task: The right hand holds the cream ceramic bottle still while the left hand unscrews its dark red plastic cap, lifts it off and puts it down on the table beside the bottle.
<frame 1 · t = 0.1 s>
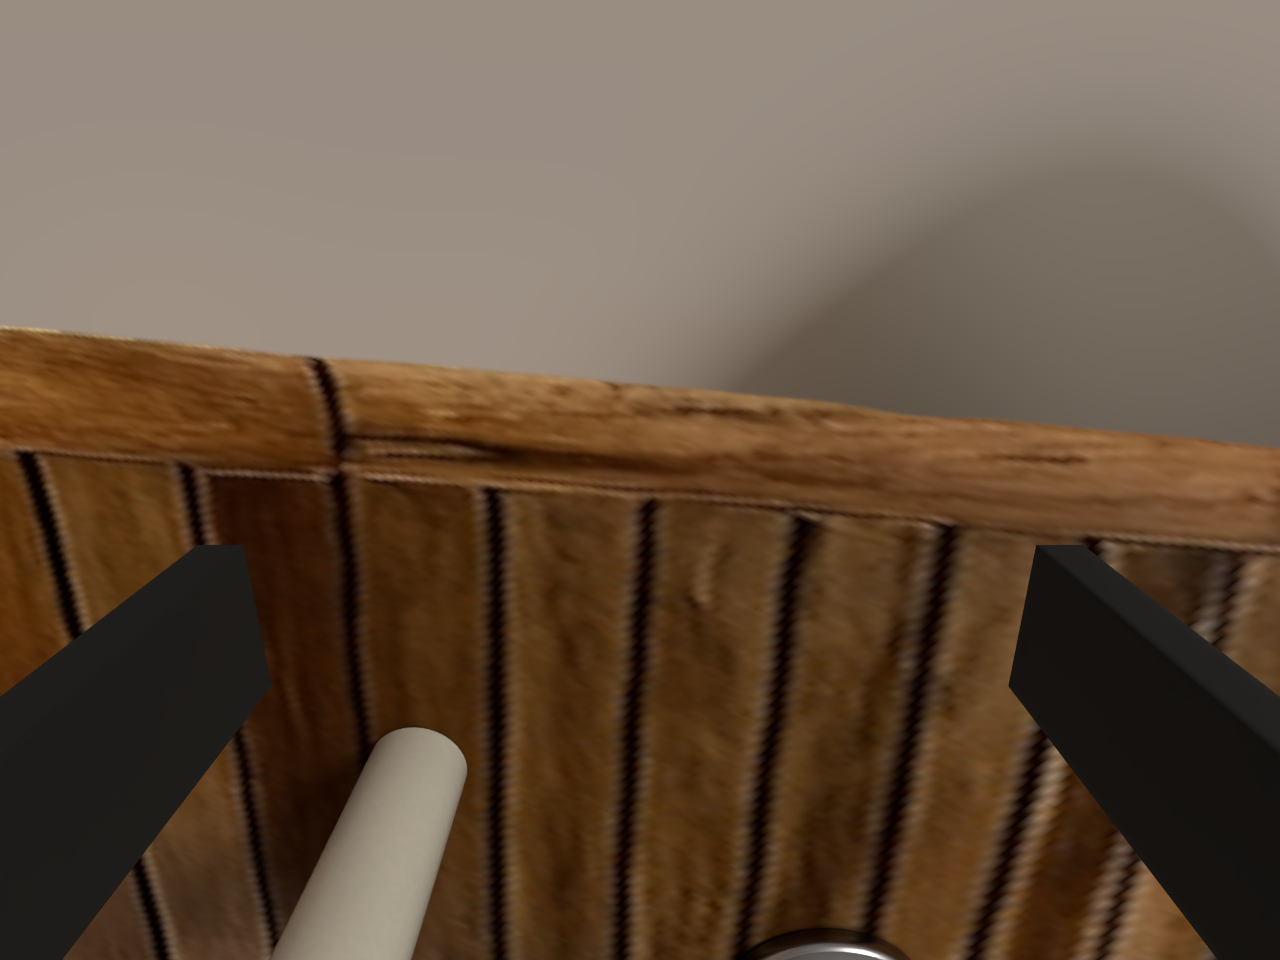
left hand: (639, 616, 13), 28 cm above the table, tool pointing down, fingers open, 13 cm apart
bottle: (418, 767, 49), on the table
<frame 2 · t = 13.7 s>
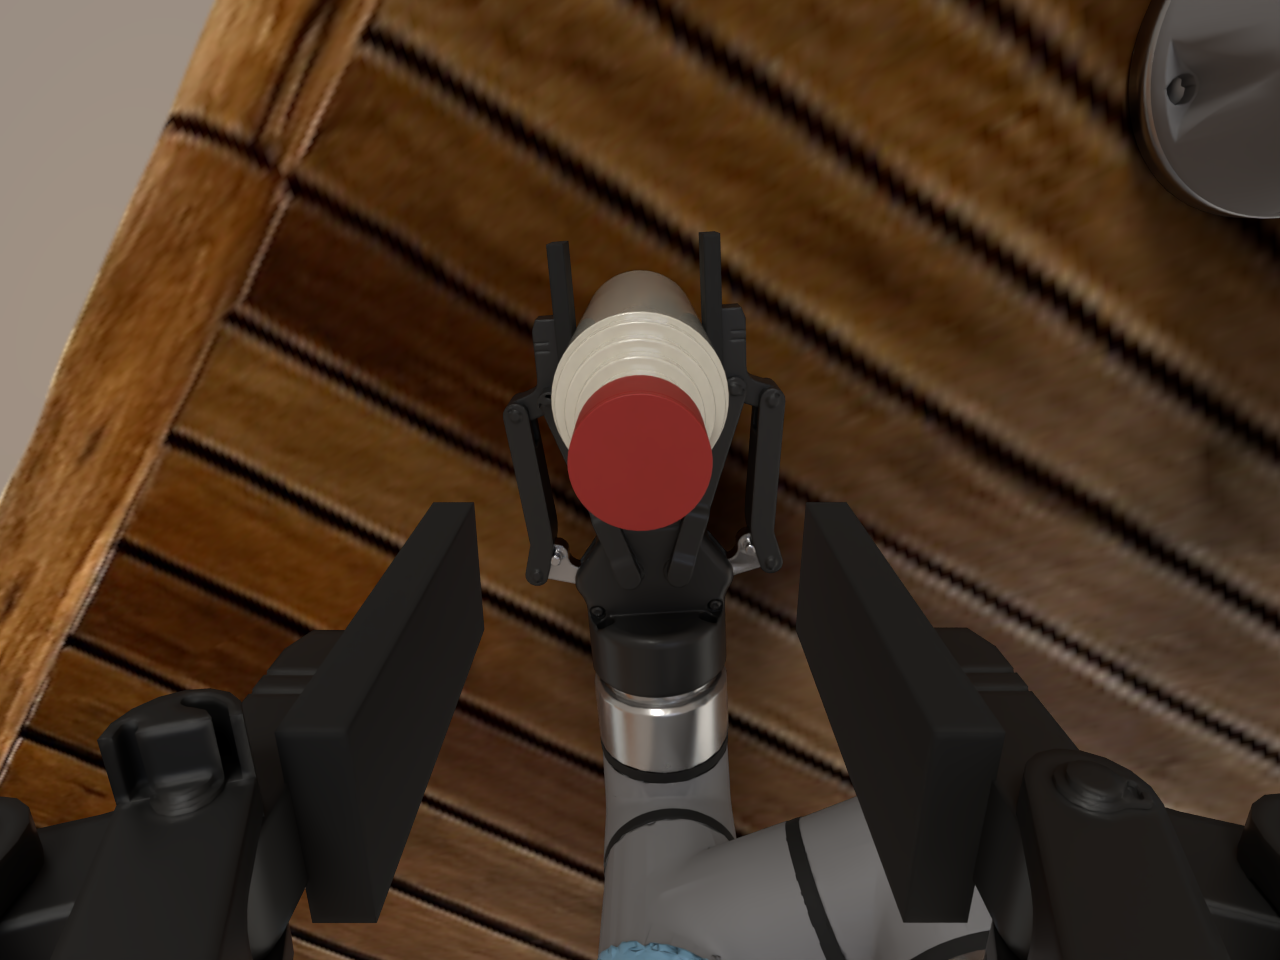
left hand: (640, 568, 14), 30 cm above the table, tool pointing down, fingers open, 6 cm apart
right hand: (633, 238, 35), fingers closed on bottle, 6 cm apart
bottle: (640, 327, 43), on the table, touching right hand
cap: (640, 461, 21), point 24 cm above the table, screwed on, not yet turned
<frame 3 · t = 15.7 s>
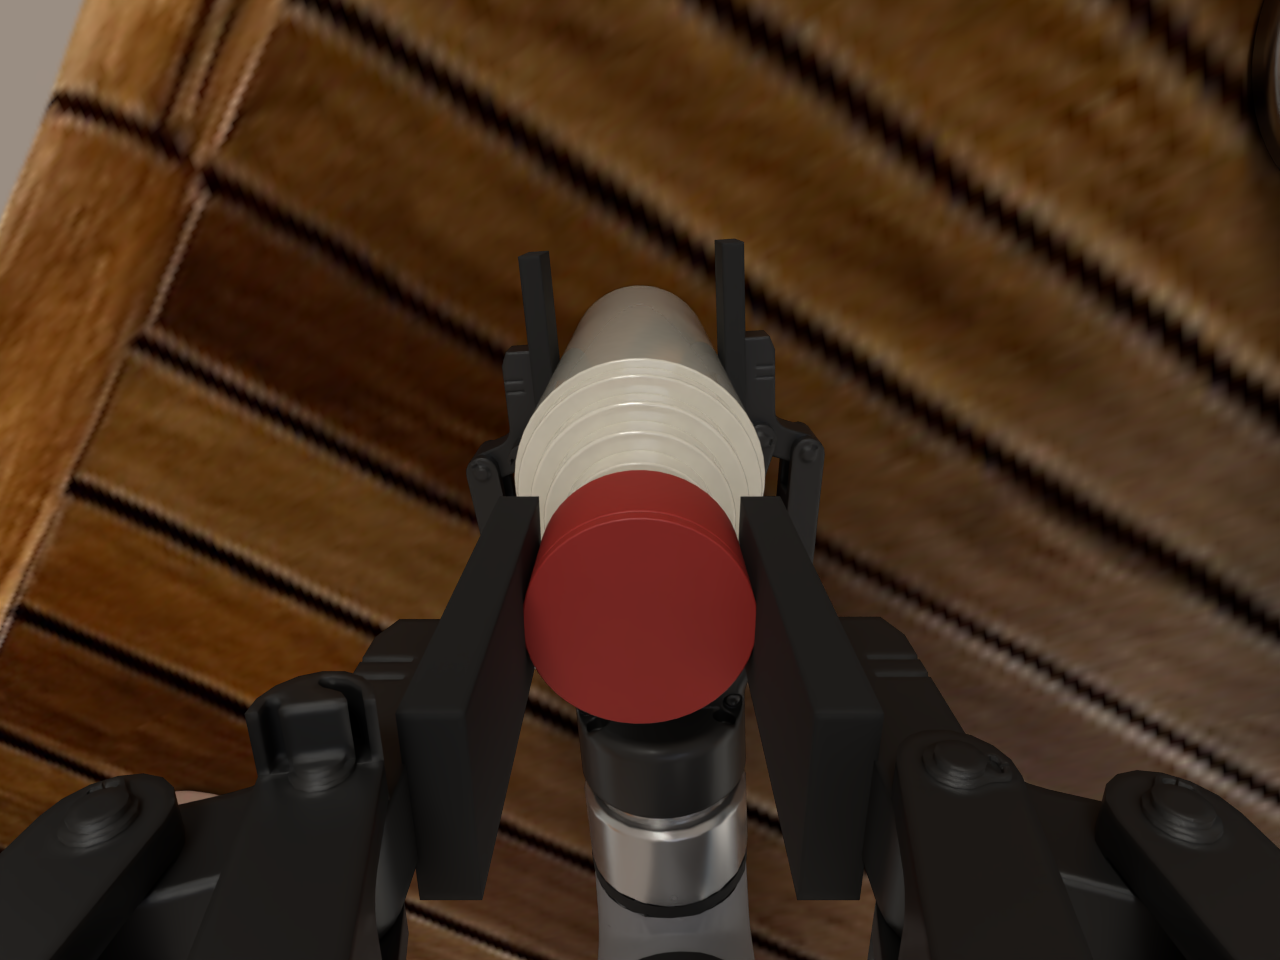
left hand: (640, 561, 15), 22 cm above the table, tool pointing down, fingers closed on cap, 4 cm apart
anatomical model: (241, 875, 46), on the table
bottle: (640, 355, 35), on the table, touching right hand
cap: (639, 617, 13), point 24 cm above the table, screwed on, not yet turned, touching left hand
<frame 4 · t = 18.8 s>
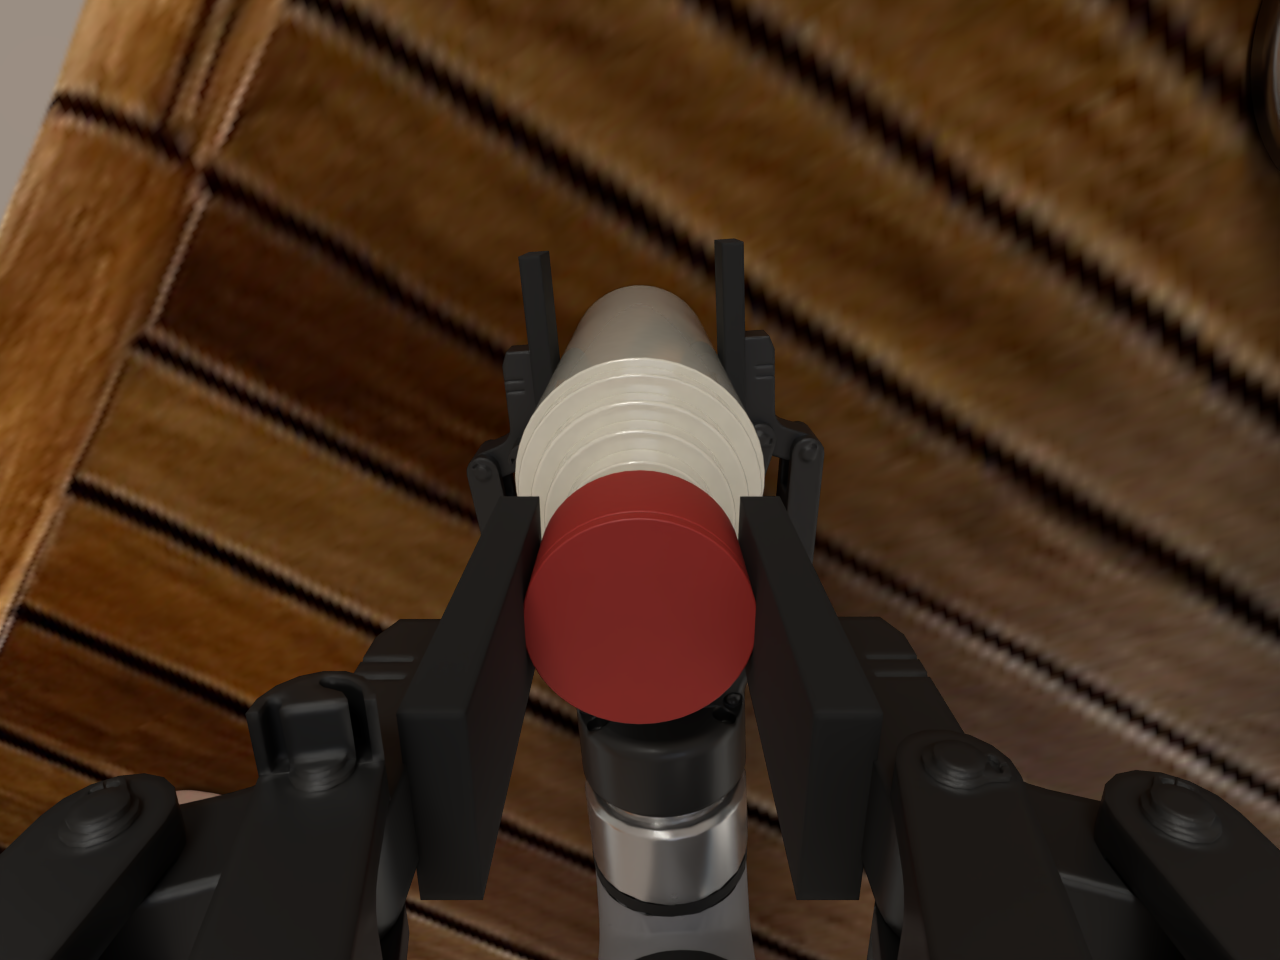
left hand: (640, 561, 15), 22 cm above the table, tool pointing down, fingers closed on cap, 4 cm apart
anatomical model: (242, 874, 46), on the table
bottle: (640, 355, 35), on the table, touching right hand
cap: (639, 617, 13), point 24 cm above the table, turned 93° so far, risen 0.1 cm, still on its thread, touching left hand
when the left hand's fingers open (1 cm above the table, at t = 35.2 s): cap stays where it is, point 2 cm above the table.
when the right hand's fingers open (6 cm above the table, at t = 36.5 s): bottle stays where it is, on the table.
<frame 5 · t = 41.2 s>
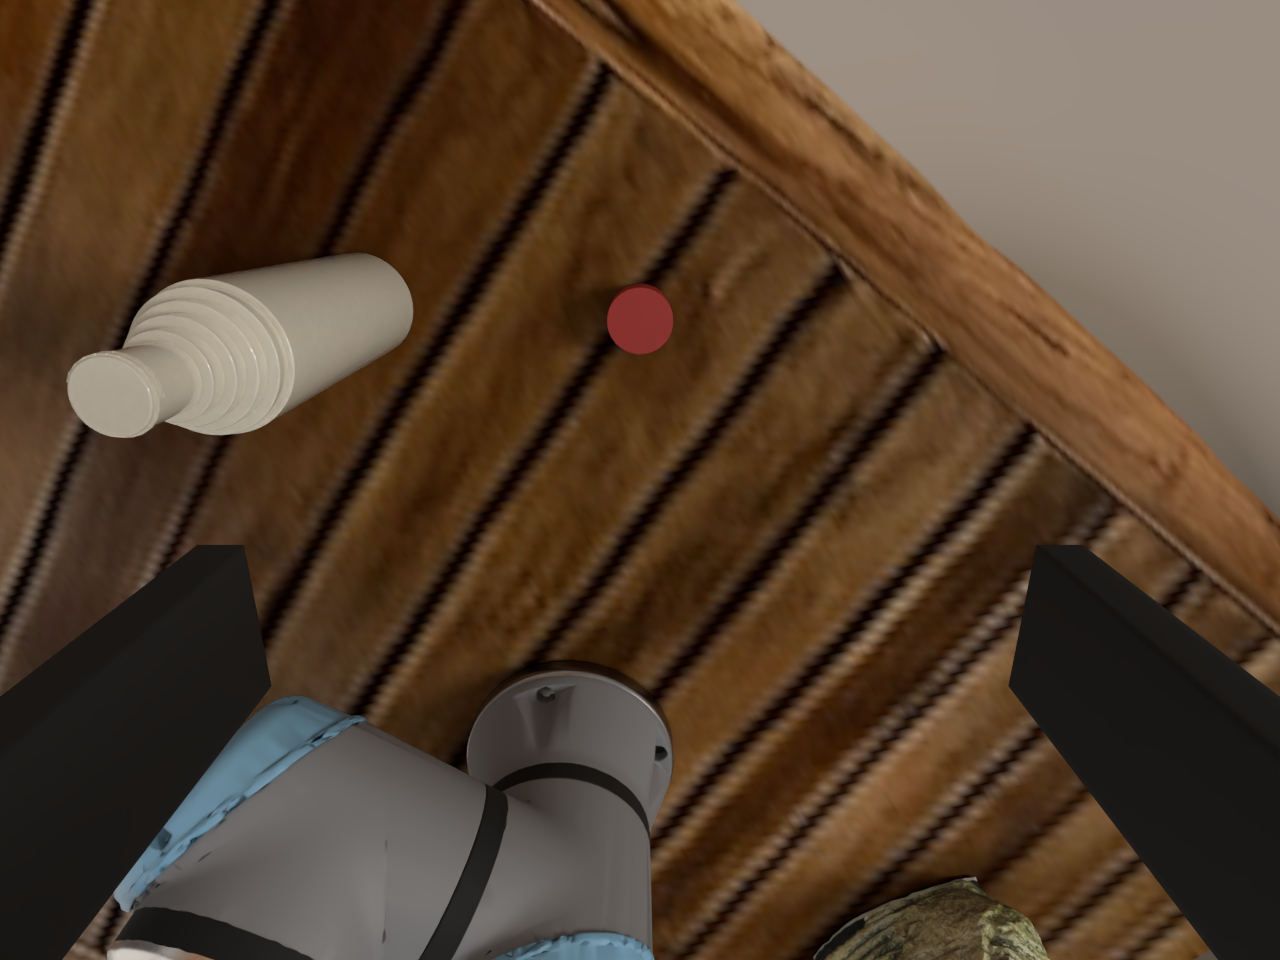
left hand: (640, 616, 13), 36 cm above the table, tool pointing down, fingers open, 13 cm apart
fossil: (907, 924, 64), on the table
bottle: (362, 305, 46), on the table
cap: (640, 320, 45), point 2 cm above the table, off its thread
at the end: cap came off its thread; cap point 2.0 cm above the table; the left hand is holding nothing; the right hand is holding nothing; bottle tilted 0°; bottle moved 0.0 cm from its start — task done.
